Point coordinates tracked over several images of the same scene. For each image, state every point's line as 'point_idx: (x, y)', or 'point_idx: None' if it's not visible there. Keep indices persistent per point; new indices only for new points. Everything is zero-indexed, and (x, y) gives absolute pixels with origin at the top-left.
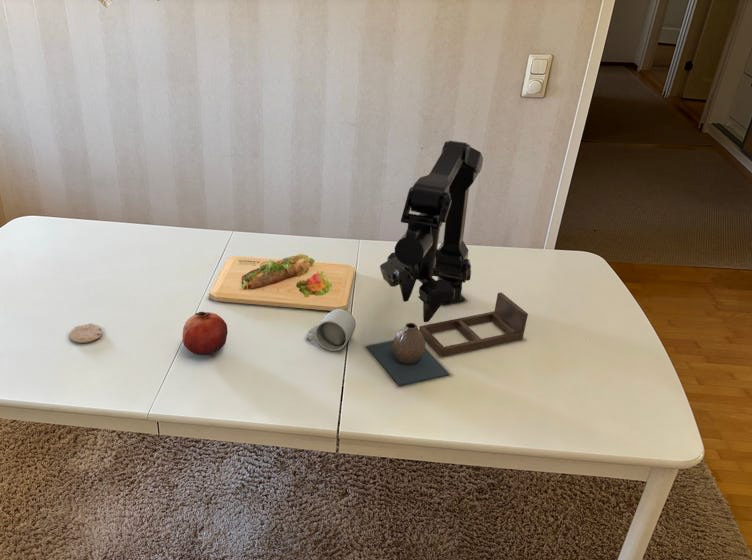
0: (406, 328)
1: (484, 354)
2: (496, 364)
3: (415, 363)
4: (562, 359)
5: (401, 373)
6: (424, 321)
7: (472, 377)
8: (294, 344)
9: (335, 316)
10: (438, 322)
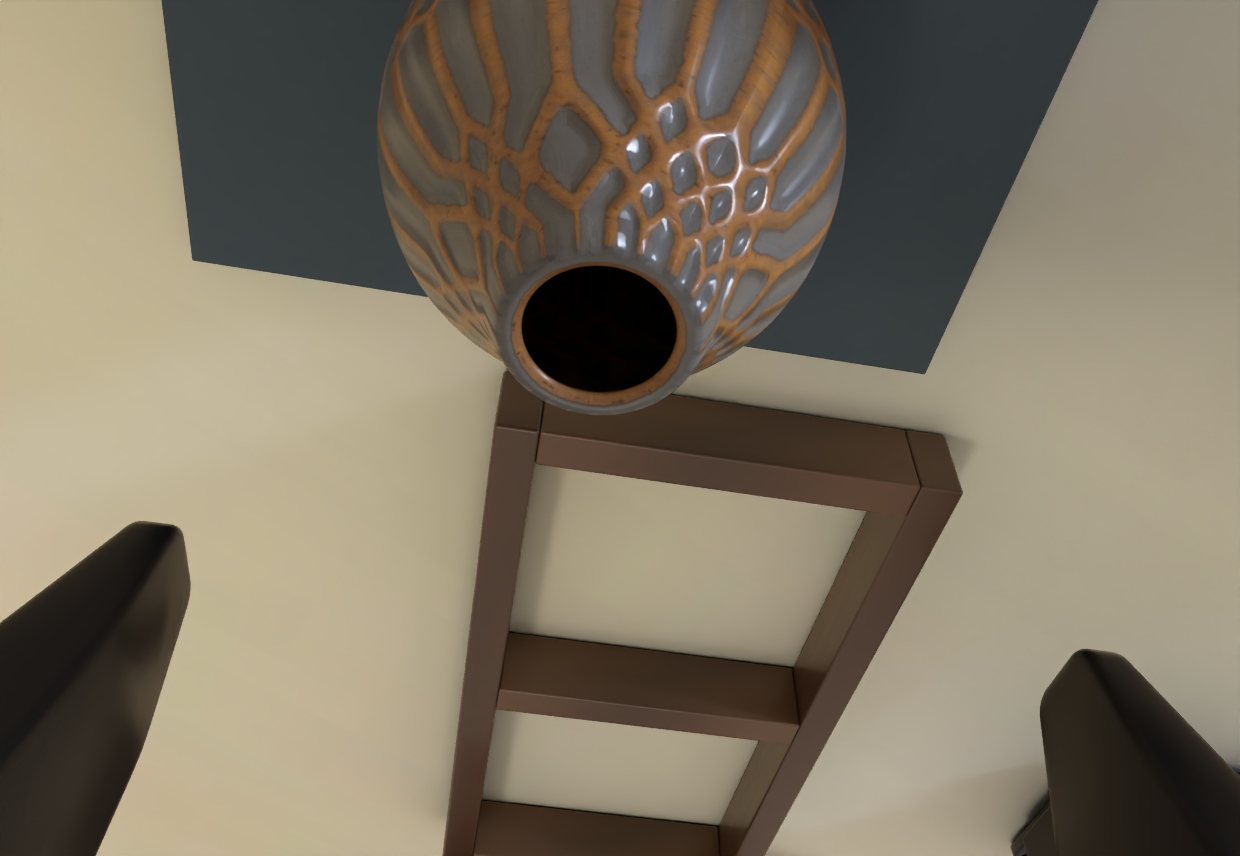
0: (584, 223)
1: (395, 617)
2: (244, 605)
3: None
4: (183, 842)
5: None
6: (124, 532)
7: (116, 389)
8: None
9: None
10: (887, 630)
